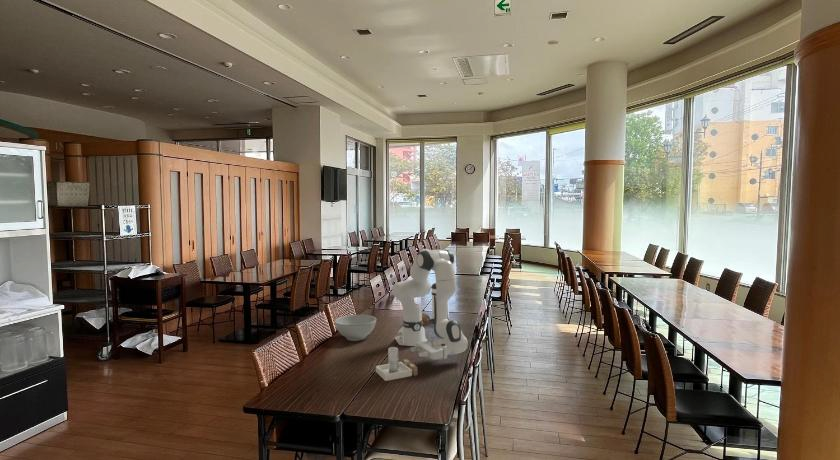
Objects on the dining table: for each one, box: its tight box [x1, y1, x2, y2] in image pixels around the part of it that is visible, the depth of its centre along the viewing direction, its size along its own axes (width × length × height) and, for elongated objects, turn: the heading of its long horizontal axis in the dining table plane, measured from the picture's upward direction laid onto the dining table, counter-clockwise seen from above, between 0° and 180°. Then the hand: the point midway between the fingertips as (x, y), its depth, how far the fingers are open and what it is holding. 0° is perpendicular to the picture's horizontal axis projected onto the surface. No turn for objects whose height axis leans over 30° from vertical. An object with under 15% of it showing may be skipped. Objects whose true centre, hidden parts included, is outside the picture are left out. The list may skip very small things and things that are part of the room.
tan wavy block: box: [402, 358, 419, 376], centre depth 236 cm, size 14×2×4 cm, turn 25°
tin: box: [422, 313, 431, 327], centre depth 324 cm, size 15×3×8 cm, turn 105°
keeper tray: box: [375, 361, 413, 382], centre depth 233 cm, size 14×14×3 cm
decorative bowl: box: [334, 314, 377, 342], centre depth 298 cm, size 27×27×12 cm
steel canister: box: [387, 346, 399, 373], centre depth 232 cm, size 5×5×12 cm
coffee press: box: [430, 282, 450, 323], centre depth 336 cm, size 17×16×30 cm
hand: (415, 352), depth 237 cm, fingers open, 8 cm apart
